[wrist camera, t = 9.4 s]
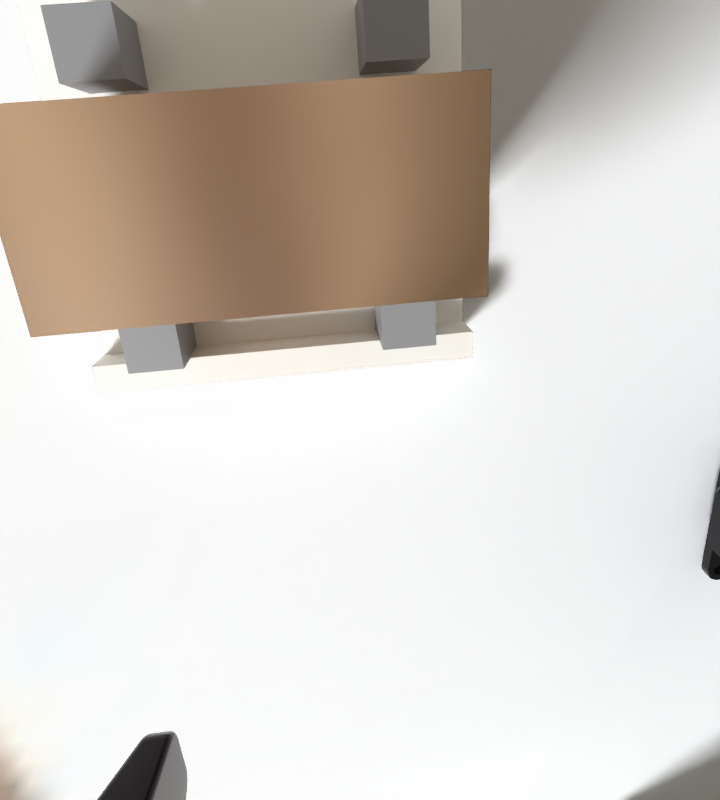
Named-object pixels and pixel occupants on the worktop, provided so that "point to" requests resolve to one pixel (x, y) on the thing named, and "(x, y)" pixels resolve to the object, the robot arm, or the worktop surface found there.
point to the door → (246, 200)
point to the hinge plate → (238, 67)
